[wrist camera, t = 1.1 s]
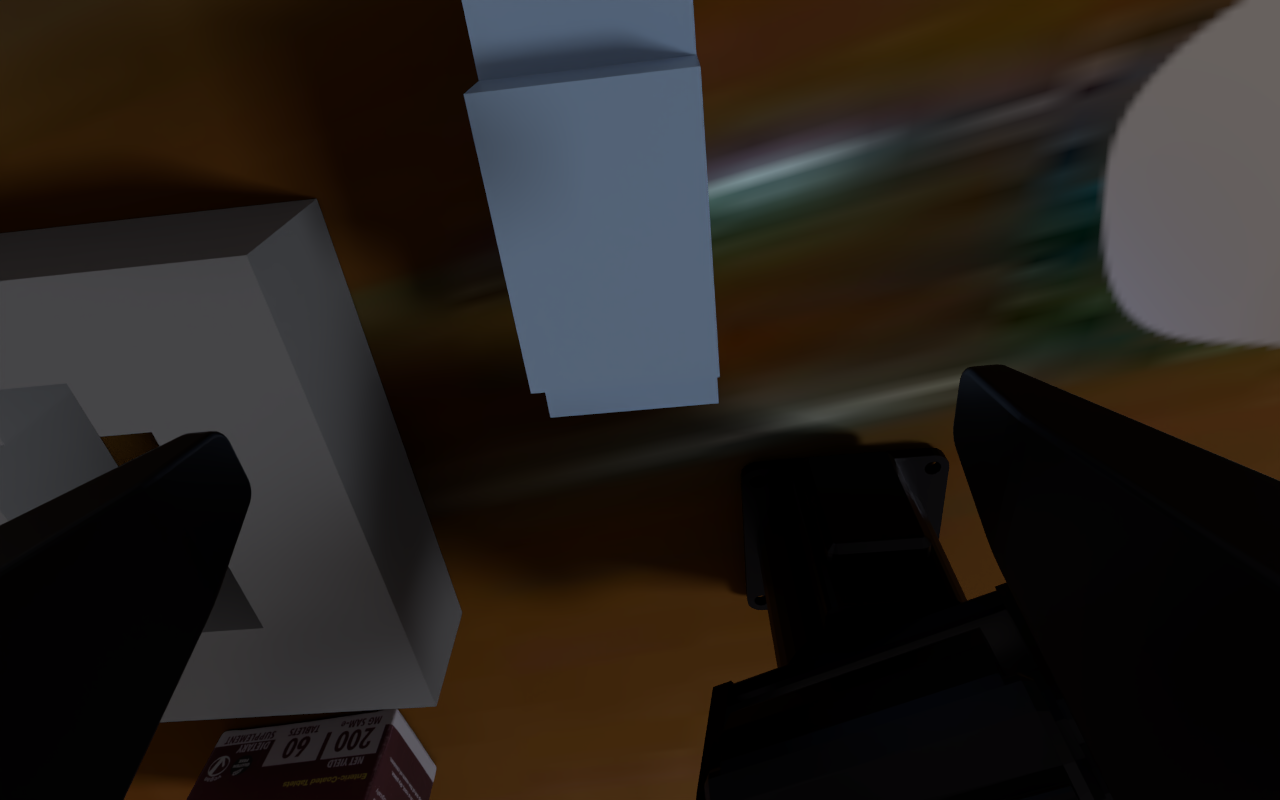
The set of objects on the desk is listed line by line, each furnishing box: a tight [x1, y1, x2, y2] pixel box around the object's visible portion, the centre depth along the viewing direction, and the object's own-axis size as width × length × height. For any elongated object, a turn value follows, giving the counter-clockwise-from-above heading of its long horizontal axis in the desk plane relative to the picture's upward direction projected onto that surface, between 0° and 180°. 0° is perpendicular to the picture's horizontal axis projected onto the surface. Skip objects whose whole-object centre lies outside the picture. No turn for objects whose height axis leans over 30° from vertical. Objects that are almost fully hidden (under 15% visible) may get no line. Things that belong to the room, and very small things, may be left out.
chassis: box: [0, 199, 462, 722], centre depth 23 cm, size 16×14×4 cm
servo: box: [462, 0, 720, 418], centre depth 16 cm, size 9×4×6 cm, turn 6°
